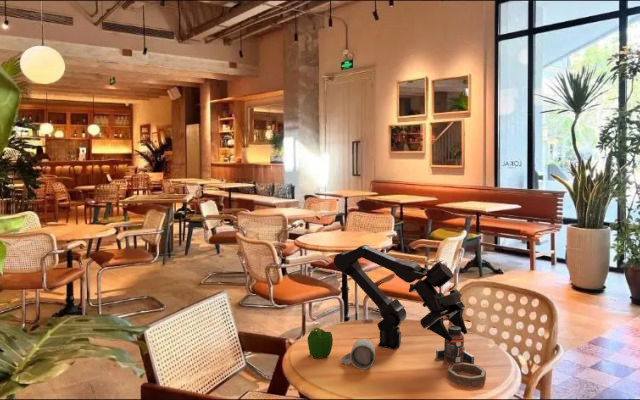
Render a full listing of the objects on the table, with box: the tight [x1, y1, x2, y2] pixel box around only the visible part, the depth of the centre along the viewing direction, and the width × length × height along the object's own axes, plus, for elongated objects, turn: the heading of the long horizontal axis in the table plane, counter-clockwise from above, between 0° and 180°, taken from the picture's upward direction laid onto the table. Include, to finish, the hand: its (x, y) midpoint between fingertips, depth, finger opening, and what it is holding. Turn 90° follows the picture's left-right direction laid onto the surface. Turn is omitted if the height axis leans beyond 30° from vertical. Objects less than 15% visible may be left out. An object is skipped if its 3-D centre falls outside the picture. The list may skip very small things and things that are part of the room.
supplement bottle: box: [443, 325, 465, 365], centre depth 164 cm, size 6×6×11 cm
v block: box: [435, 346, 475, 365], centre depth 168 cm, size 8×12×2 cm, turn 65°
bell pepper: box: [307, 326, 334, 359], centre depth 169 cm, size 8×8×10 cm
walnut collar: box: [446, 361, 487, 388], centre depth 153 cm, size 10×10×2 cm
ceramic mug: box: [340, 338, 376, 370], centre depth 163 cm, size 11×8×8 cm
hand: (458, 337), depth 163 cm, fingers open, 9 cm apart
